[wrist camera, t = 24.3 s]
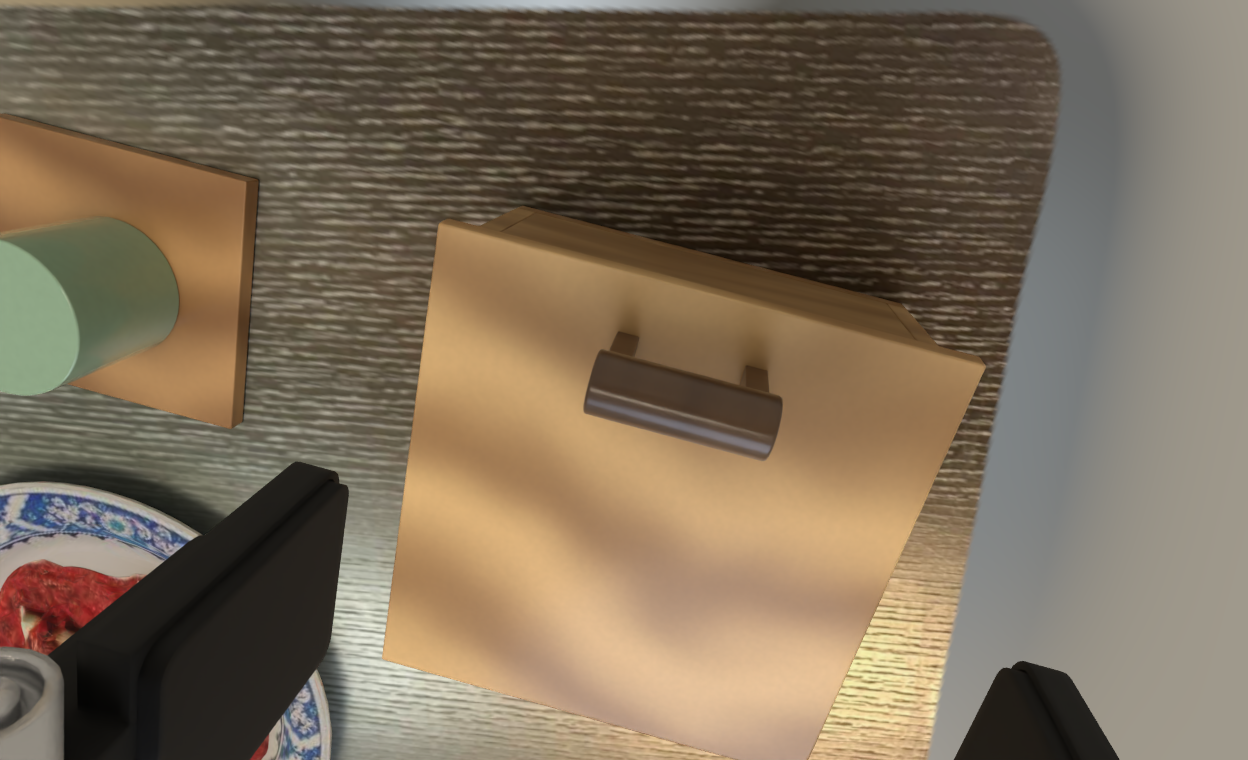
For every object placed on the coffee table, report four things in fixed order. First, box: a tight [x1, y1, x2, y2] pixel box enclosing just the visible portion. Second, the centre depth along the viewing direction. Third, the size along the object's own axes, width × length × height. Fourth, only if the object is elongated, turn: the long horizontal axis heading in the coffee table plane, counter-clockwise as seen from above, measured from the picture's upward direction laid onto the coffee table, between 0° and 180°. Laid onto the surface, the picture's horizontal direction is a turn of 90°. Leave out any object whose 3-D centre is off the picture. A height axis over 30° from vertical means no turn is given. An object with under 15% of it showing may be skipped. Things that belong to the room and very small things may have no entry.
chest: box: [479, 206, 938, 346], centre depth 32 cm, size 17×17×9 cm
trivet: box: [0, 114, 259, 429], centre depth 37 cm, size 12×12×1 cm
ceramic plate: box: [0, 481, 332, 760], centre depth 44 cm, size 26×26×3 cm
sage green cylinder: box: [0, 216, 179, 396], centre depth 33 cm, size 6×6×6 cm
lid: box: [382, 219, 985, 760], centre depth 25 cm, size 17×17×5 cm
